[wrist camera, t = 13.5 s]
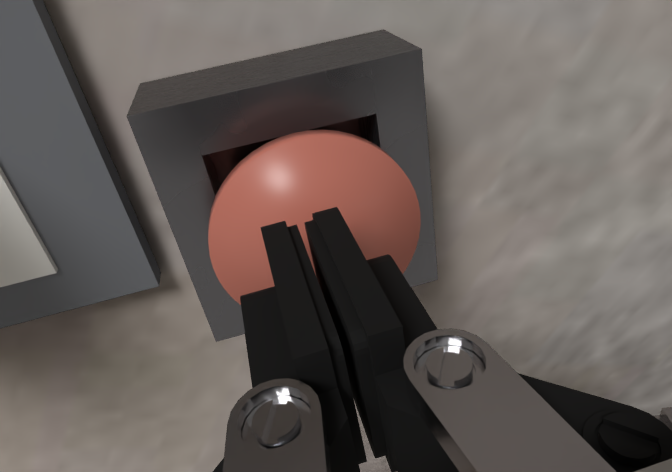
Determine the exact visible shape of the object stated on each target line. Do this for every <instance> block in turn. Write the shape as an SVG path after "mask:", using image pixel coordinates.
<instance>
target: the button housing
mask: <svg viewBox="0 0 672 472" xmlns="http://www.w3.org/2000/svg"><path fill="white" fill-rule="evenodd" d="M127 118H128V121H129V123H130V126H131V128H132V131H133V133H134V136H135V138H136V141H137V143H138V146H139V148H140V151H141V153H142V156H143V159H144V161H145V164H146V166H147V169H148V171H149V174H150V176H151V179H152V181H153V184H154V186H155V189H156V191H157V194H158V196H159V199H160V201H161V204H162V206H163V209H164V211H165V214H166V217H167V219H168V222H169V224H170V227H171V229H172V232H173V234H174V237H175V239H176V242H177V244H178V247H179V249H180V252H181V254H182V257H183V259H184V262H185V264H186V267H187V269H188V272H189V274H190V277H191V280H192V282H193V285H194V287H195V290H196V292H197V295H198V297H199V300H200V302H201V305H202V307H203V310H204V312H205V315H206V317H207V320H208V322H209V325H210V327H211V330H212V332H213V335H214V338H215V340H216V342H217V341H221V340H224V339H228V338H231V337H235V336H239V335H242V334H245V330H244V323H243V316H242V309H241V305H240V304H239V303H238V302H236V301H235V300H234V299H233V298H232V297H231V296H230V295H229V294H228V293H227V291H226V290H225V289H224V288H223V286H222V285H221V283H220V281H219V280H218V278H217V276H216V274H215V271H214V269H213V266H212V262H211V259H210V253H209V244H208V227H209V217H210V212H211V207H212V205H213V202H214V199H215V196H216V194H217V192H218V190H219V188H220V187H221V185H222V183H223V182H224V180H225V179H226V177H227V176H228V175H229V173H230V172H231V171H232V170H233V169H234V168H235V167H236V165H237V164H238V163H239V162H240V161H241V160H243V159H244V158H245V157H246V156H248V155H249V154H250V153H251V152H253V151H254V150H256V149H257V148H259V147H261V146H262V145H264V144H266V143H268V142H270V141H272V140H275V139H277V138H279V137H282V136H285V135H288V134H292V133H296V132H302V131H307V130H335V131H341V132H346V133H350V134H354V135H356V136H359V137H362V138H364V139H366V140H368V141H370V142H372V143H374V144H375V145H377V146H378V147H380V148H381V149H382V150H384V151H385V152H386V153H387V154H388V155H389V156H390V157H391V158H392V159H393V160H394V161H395V162H396V163H397V164H398V165H399V166H400V168H401V169H402V170H403V171H404V173H405V174H406V176H407V177H408V178H409V180H410V182H411V184H412V186H413V188H414V190H415V192H416V195H417V199H418V202H419V208H420V219H421V226H420V234H419V239H418V243H417V247H416V250H415V252H414V255H413V257H412V259H411V261H410V263H409V265H408V267H407V268H406V270H405V272H404V273H403V276H404V277H405V279H406V280H407V282H408V283H409V285H410V287H413V286H417V285H420V284H424V283H428V282H431V281H435V280H438V275H437V261H436V247H435V232H434V218H433V204H432V189H431V175H430V160H429V146H428V132H427V117H426V103H425V89H424V74H423V60H422V49H421V48H419V47H417V46H415V45H413V44H411V43H409V42H407V41H405V40H403V39H401V38H399V37H397V36H395V35H393V34H391V33H389V32H387V31H385V30H380V31H375V32H371V33H366V34H362V35H357V36H353V37H348V38H344V39H339V40H335V41H330V42H326V43H321V44H317V45H312V46H308V47H303V48H299V49H294V50H290V51H285V52H281V53H276V54H272V55H267V56H263V57H258V58H253V59H249V60H244V61H240V62H235V63H231V64H226V65H222V66H217V67H213V68H208V69H204V70H199V71H195V72H190V73H186V74H181V75H177V76H172V77H168V78H163V79H159V80H154V81H150V82H145V83H141V84H140V85H139V87H138V90H137V92H136V95H135V97H134V100H133V102H132V105H131V107H130V110H129V112H128V114H127Z"/></svg>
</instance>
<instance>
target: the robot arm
mask: <svg viewBox="0 0 672 472" xmlns="http://www.w3.org/2000/svg"><path fill="white" fill-rule="evenodd" d="M312 217H313V220H311V221H308V222H304V224H305V229H306V233H307V238H308V242H309V246H310V251H311V255H312V260H313V264H314V268H315V272H314V269H313V266H312V264H311V261H310V258H309V256H308V253H307V250H306V248H305V245H304V242H303V240H302V237H301V234H300V232H299V229H298V226H297V224H296V225H293V226H289V227H287V224H286V222H285V221H282V222H278V223H274V224H270V225H267V226H263V227H260V228H261V232H262V236H263V240H264V244H265V248H266V252H267V256H268V261H269V265H270V269H271V273H272V277H273V281H274V285H275V286H274V287H270V288H267V289H263V290H260V291H256V292H252V293H249V294H245V295H242V296H240V301H241V309H242V316H243V323H244V330H245V337H246V344H247V352H248V359H249V366H250V373H251V380H252V387H253V388H252V389H250V390H249V391H247V392H246V393H245V394H244V395H243V396H242V397H241V398H240V399H239V400H238V401H237V403H236V404H235V406H234V408H233V409H232V411H231V413H230V416H229V420H228V424H227V432H226V442H225V452H224V458H223V460H222V461H221V462H220V463H219V465H218V466H217V467H216V468H215V470H214V471H213V472H360V469H359V465H358V464H361V463H364V462H367V460H366V455H365V450H364V446H363V441H362V436H361V432H360V427H359V423H358V418H357V413H356V409H355V404H356V406H357V409H358V412H359V415H360V418H361V420H362V423H363V426H364V429H365V432H366V435H367V437H368V440H369V443H370V446H371V449H372V451H373V454H374V456H375V458H379V457H382V456H386V458H387V461H388V464H389V466H390V469H391V472H395V471H398V472H672V407H667V408H662V410H661V413H660V415H656V416H652V415H651V414H649V413H647V412H644V411H642V410H639V409H637V408H634V407H632V406H628V405H625V404H621V403H618V402H614V401H611V400H608V399H604V398H601V397H597V396H594V395H590V394H587V393H583V392H580V391H577V390H573V389H570V388H566V387H563V386H559V385H556V384H553V383H549V382H546V381H542V380H539V379H535V378H532V377H528V376H525V375H522V374H518V373H517V372H516V371H515V370H514V369H513V368H512V367H511V366H510V365H509V364H508V363H507V362H506V361H505V360H504V359H503V358H502V357H501V356H500V355H499V354H498V353H497V352H496V351H495V350H494V349H493V348H492V347H491V346H490V345H489V344H488V343H486V342H485V341H484V340H482V339H481V338H480V337H478V336H477V335H474V334H472V333H469V332H467V331H464V330H458V329H437V328H436V326H435V325H434V323H433V321H432V320H431V318H430V317H429V315H428V314H427V312H426V310H425V309H424V307H423V306H422V304H421V302H420V301H419V299H418V298H417V296H416V295H415V293H414V291H413V290H412V288H411V287H410V285H409V283H408V282H407V280H406V279H405V277H404V276H403V274H402V272H401V271H400V269H399V268H398V266H397V264H396V263H395V261H394V260H393V258H392V257H391V256H390V255H388V254H387V255H383V256H380V257H376V258H373V259H369V260H366V258H365V257H364V255H363V253H362V251H361V249H360V247H359V246H358V244H357V242H356V240H355V238H354V236H353V235H352V233H351V231H350V229H349V227H348V225H347V224H346V222H345V220H344V218H343V216H342V215H341V213H340V211H339V209H338V208H337V207H334V208H330V209H327V210H323V211H319V212H315V213H312ZM315 273H316V274H315ZM353 398H354V399H353ZM354 401H355V404H354Z"/></svg>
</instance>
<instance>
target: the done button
mask: <svg viewBox="0 0 672 472" xmlns="http://www.w3.org/2000/svg"><path fill="white" fill-rule="evenodd" d="M334 207H337V208H338V209H339V211H340V213H341V215H342V216H343V218H344V220H345V222H346V224H347V225H348V227H349V229H350V231H351V233H352V235H353V236H354V238H355V240H356V242H357V244H358V246H359V247H360V249H361V251H362V253H363V255H364V257H365V258H366V260H369V259H373V258H376V257H380V256H383V255H387V254H388V255H390V256H391V257H392V258H393V260H394V261H395V263H396V264H397V266H398V268H399V269H400V271H401V272H402V274H403V273H404V272H405V270H406V268H407V267H408V265H409V263H410V261H411V259H412V257H413V255H414V252H415V250H416V247H417V243H418V239H419V234H420V226H421V219H420V208H419V202H418V199H417V195H416V192H415V190H414V188H413V186H412V184H411V182H410V180H409V178H408V177H407V176H406V174H405V173H404V171H403V170H402V169H401V168H400V166H399V165H398V164H397V163H396V162H395V161H394V160H393V159H392V158H391V157H390V156H389V155H388V154H387V153H386V152H385V151H384V150H382V149H381V148H380V147H378V146H377V145H375V144H374V143H372V142H370V141H368V140H366V139H364V138H362V137H359V136H356V135H354V134H350V133H346V132H341V131H335V130H307V131H302V132H296V133H292V134H288V135H285V136H282V137H279V138H277V139H275V140H272V141H270V142H268V143H266V144H264V145H262V146H261V147H259V148H257V149H256V150H254V151H253V152H251V153H250V154H249V155H248V156H246V157H245V158H244V159H243V160H241V161H240V162H239V163H238V164H237V165H236V167H235V168H234V169H233V170H232V171H231V172H230V173H229V175H228V176H227V177H226V179H225V180H224V182H223V183H222V185H221V187H220V188H219V190H218V192H217V194H216V196H215V199H214V202H213V205H212V207H211V212H210V217H209V227H208V244H209V253H210V259H211V262H212V266H213V269H214V271H215V274H216V276H217V278H218V280H219V281H220V283H221V285H222V286H223V288H224V289H225V290H226V291H227V293H228V294H229V295H230V296H231V297H232V298H233V299H234V300H235V301H236V302H238V303H239V304H240V305H241V301H240V296H242V295H245V294H249V293H252V292H256V291H260V290H263V289H267V288H270V287H274V286H275V285H274V281H273V277H272V273H271V269H270V265H269V261H268V256H267V252H266V248H265V244H264V240H263V236H262V232H261V228H260V227H263V226H267V225H270V224H274V223H278V222H282V221H285V222H286V224H287V227H289V226H293V225H296V224H297V226H298V229H299V232H300V234H301V237H302V240H303V242H304V245H305V248H306V250H307V253H308V256H309V258H310V261H311V264H312V266H313V269H314V272H315V268H314V264H313V260H312V255H311V251H310V246H309V242H308V238H307V233H306V229H305V224H304V222H308V221H311V220H313V217H312V213H315V212H319V211H323V210H327V209H330V208H334ZM315 274H316V273H315Z"/></svg>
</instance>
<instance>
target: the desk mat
mask: <svg viewBox="0 0 672 472" xmlns="http://www.w3.org/2000/svg"><path fill="white" fill-rule="evenodd" d="M160 274H161V272H160V269H159V267H158V265H157V263H156V260H155V258H154V256H153V253H152V251H151V249H150V246H149V244H148V242H147V239H146V237H145V235H144V233H143V230H142V228H141V226H140V223H139V221H138V219H137V216H136V214H135V212H134V210H133V207H132V205H131V203H130V200H129V198H128V196H127V193H126V191H125V189H124V186H123V184H122V182H121V180H120V177H119V175H118V173H117V170H116V168H115V166H114V163H113V161H112V159H111V156H110V154H109V152H108V150H107V147H106V145H105V143H104V140H103V138H102V136H101V133H100V131H99V129H98V126H97V124H96V122H95V120H94V117H93V115H92V113H91V110H90V108H89V106H88V103H87V101H86V99H85V96H84V94H83V92H82V90H81V87H80V85H79V83H78V80H77V78H76V76H75V73H74V71H73V69H72V66H71V64H70V62H69V60H68V57H67V55H66V53H65V50H64V48H63V46H62V43H61V41H60V39H59V36H58V34H57V32H56V30H55V27H54V25H53V23H52V20H51V18H50V16H49V13H48V11H47V9H46V6H45V4H44V2H43V0H0V328H3V327H7V326H11V325H15V324H19V323H22V322H26V321H30V320H34V319H37V318H41V317H45V316H49V315H52V314H56V313H60V312H64V311H68V310H71V309H75V308H79V307H83V306H86V305H90V304H94V303H98V302H101V301H105V300H109V299H113V298H116V297H120V296H124V295H128V294H132V293H135V292H139V291H143V290H147V289H150V288H154V287H158V286H159V283H160Z"/></svg>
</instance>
